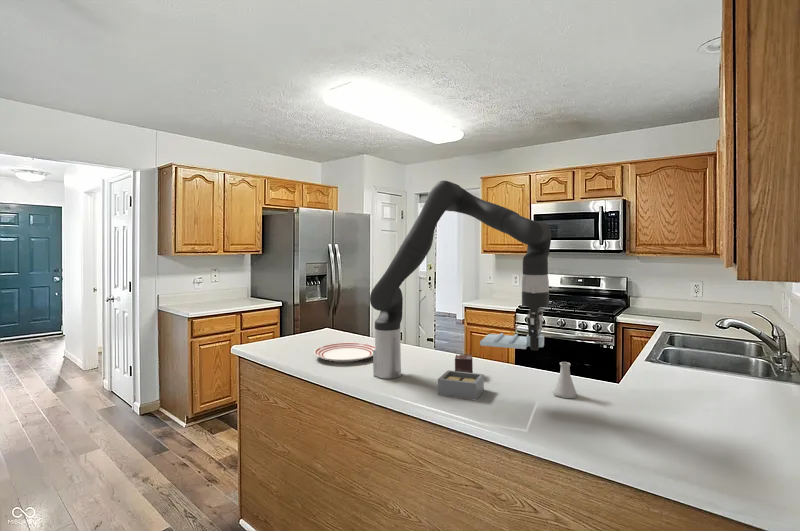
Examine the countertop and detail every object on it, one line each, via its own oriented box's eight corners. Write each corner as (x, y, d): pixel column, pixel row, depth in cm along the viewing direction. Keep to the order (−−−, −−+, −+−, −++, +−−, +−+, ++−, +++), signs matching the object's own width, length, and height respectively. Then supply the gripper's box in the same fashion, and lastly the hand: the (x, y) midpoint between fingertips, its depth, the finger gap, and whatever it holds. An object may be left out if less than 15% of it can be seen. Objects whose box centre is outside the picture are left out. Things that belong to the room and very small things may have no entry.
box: (472, 380, 150) (472, 359, 150) (454, 379, 151) (454, 358, 151) (472, 374, 156) (472, 354, 156) (456, 374, 157) (455, 354, 157)
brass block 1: (445, 392, 137) (445, 379, 136) (449, 388, 140) (449, 376, 140) (457, 393, 135) (457, 381, 135) (461, 389, 139) (461, 377, 138)
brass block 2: (461, 394, 134) (461, 381, 134) (464, 390, 138) (464, 377, 138) (473, 395, 133) (473, 383, 133) (477, 391, 136) (477, 379, 136)
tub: (438, 396, 134) (437, 379, 134) (448, 386, 144) (447, 370, 143) (475, 401, 130) (475, 383, 129) (483, 391, 139) (483, 374, 138)
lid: (480, 345, 128) (480, 335, 127) (488, 337, 138) (488, 328, 137) (541, 350, 120) (541, 339, 120) (545, 342, 130) (545, 332, 130)
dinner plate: (392, 355, 185) (392, 348, 185) (343, 370, 165) (343, 361, 165) (349, 346, 203) (349, 339, 203) (300, 358, 183) (300, 350, 183)
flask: (575, 400, 129) (575, 367, 129) (550, 396, 133) (550, 364, 132) (579, 393, 135) (579, 361, 135) (555, 389, 139) (555, 358, 139)
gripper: (525, 287, 133) (525, 342, 134) (517, 292, 121) (518, 353, 122) (551, 287, 130) (551, 344, 131) (546, 293, 118) (546, 355, 118)
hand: (535, 348), depth 126 cm, fingers closed on lid, 3 cm apart
